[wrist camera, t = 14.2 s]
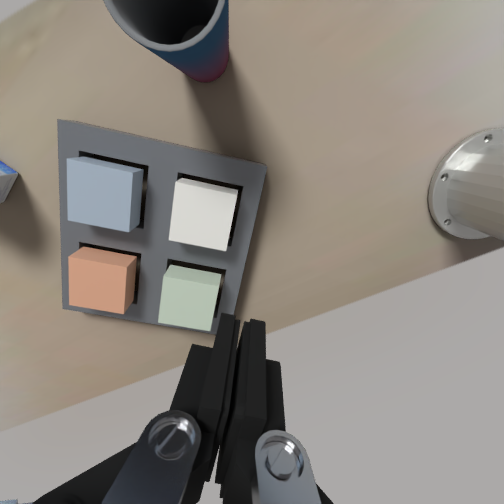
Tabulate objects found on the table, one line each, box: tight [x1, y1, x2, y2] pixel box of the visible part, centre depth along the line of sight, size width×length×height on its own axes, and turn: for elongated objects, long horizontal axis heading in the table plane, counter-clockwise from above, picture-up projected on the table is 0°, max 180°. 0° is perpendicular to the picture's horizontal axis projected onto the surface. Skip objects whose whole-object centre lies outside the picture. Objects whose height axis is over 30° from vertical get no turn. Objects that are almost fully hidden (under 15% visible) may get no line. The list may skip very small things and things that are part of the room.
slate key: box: [67, 157, 144, 232], centre depth 29 cm, size 6×6×3 cm
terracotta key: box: [68, 247, 137, 314], centre depth 33 cm, size 6×6×3 cm
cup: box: [103, 0, 229, 82], centre depth 22 cm, size 7×7×15 cm
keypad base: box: [57, 119, 267, 334], centre depth 34 cm, size 21×22×3 cm
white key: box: [169, 178, 238, 251], centre depth 30 cm, size 6×6×3 cm
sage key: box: [158, 265, 221, 331], centre depth 33 cm, size 6×6×3 cm
